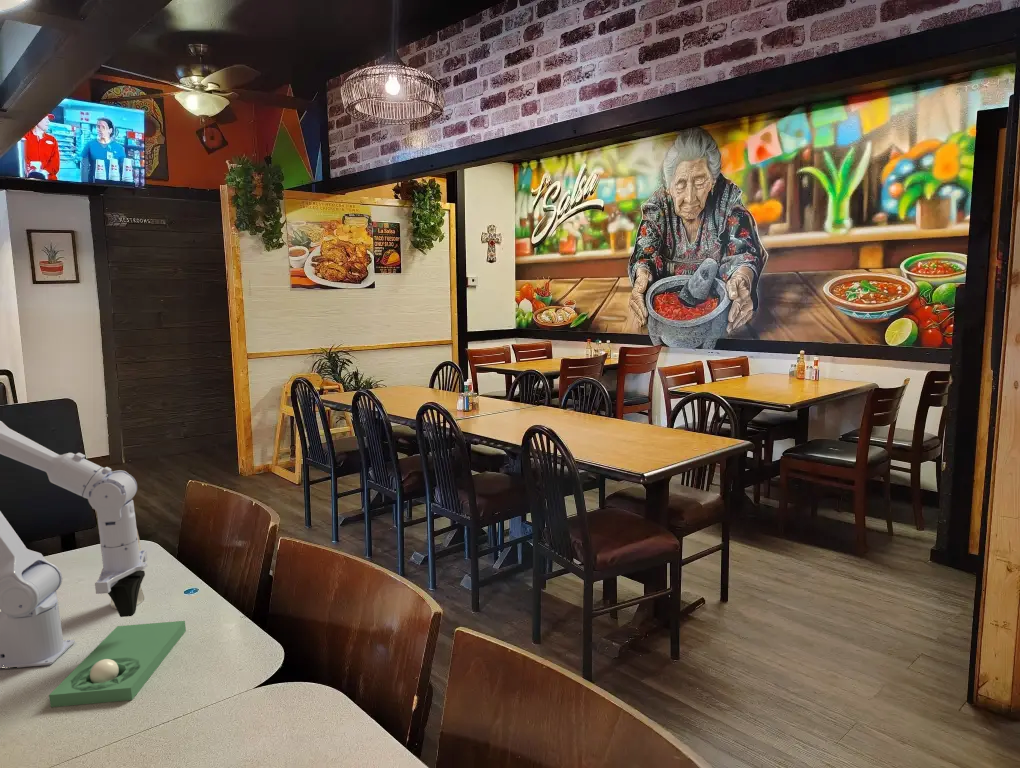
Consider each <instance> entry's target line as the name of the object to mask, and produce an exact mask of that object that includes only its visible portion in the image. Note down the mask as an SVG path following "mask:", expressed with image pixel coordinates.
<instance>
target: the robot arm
mask: <svg viewBox="0 0 1020 768" xmlns="http://www.w3.org/2000/svg"><path fill="white" fill-rule="evenodd" d="M0 455H2V456H4V457H7V458H10V459H12V460H14V461H17V462H20V463H22V464H25V465H28V466H30V467H32V468H34V469H38V470H40V471H42V472H44V473H46V475H47V477H48V480H49V482H50V483H51V484H54V485H56V486H58V487H60V488H62V489H65V490H67V491H69V492H71V493H73V494H76V495H77V496H80V497H82V498H84V499H87V502H88V504H89V505H90V506H91V508H92V509H93V510H94V511H96V515H97V526H98V534H99V541H100V542H99V543H100V551H101V552H100V554H101V560H102V569H101V572H100V574H99V577H98V579H97V580H96V581H95V582H94V587H95V594H98V595H99V594H108V596H109V597H110V600H111V599H112V600H113V602H114V604H115V606H116V608H117V609H116V610H117V613H118V615H119V617H120V618H123V617H126V618H127V617H128V618H129V617H133V616H134V615H135V614H136V610H137V606H138V605H137V599H138V593H139V589H140V585H141V586H142V583H143V580H144V578H145V576H146V573H145V569H146V568H147V567H148V562H147V561H148V552H147V550H146V549H145V550H141V551H139V545H138V536H137V531H138V528H137V521H136V512H135V504H134V500H133V499H134V497H135V495H136V494H137V491H138V483H137V481H136V479H135V477H134V476H132V474H129V472H127V471H125V470H121V469H119V470H114V471H113V470H112V468H110V467H108V466H106V467H103V466H102V465H101V466H100V465H99V464H97V463H94V462H93V461H90V460H88V459H86V455H85V454H83V453H81V452H77V453H73V452H68V453H67V452H66V453H63V454H59V453H58V452H57V453H56V452H54V451H52V450H51V449H49V448H47V447H46V446H43V445H41V444H39V443H38V442H36V441H34V440H32V439H30V438H29V437H28V436H27V437H26V436H25V435H23V434H22V433H20V432H19V433H18V432H17V431H15V430H13V429H12V428H10V427H8V426H7V425H6V424H5V422H3V421H1V420H0ZM138 570H139V571H138ZM62 582H63V574H62V571H61V570H60V568H59V567H58V566H57V565H56V564H53V563H51V562H50V561H48V560H47V559H46V558H45V557H44V555H43V554H42V553H41V552H38V551H34V550H31V549H28V548H27V547H26V545H25V544H24V542H23V541H22V540H21V538H20V537H19V535H18V533H16V531H15V530H14V528H13V527H12V525H11V524H10V523H9V521H8V520H7V518H6V517H5V516H4V514H3V513H2V511H1V510H0V668H2V667H5V669H7V668H6V667H9V668H8V669H11V668H10V667H17V668H27V667H29V668H30V667H39V666H50V665H53V663H55V661H56V660H57V659H58V658H60V657H61V656H62V655H63V654H64V653H65V652H66V651H67V650H68V649H69V648H70V647H71V646H73V644H75V643H76V640H75V639H68V640H67V639H64V636H63V630H62V629H63V628H62V622H61V614H60V607H59V600H58V594H57V591H58V590H59V588H61V586H62ZM3 665H4V666H3Z"/></svg>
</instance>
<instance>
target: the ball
mask: <svg viewBox="0 0 1020 768" xmlns="http://www.w3.org/2000/svg"><path fill="white" fill-rule="evenodd" d="M118 672H119V668H118V665H117V663H116V662H115V661H113V660H111V659H103V660H100V661H99V662H97V663H96V664H95V665H94V666H93V667H92V669H91V671H90V679H91V681H92V682H93V684H94V683H103V682H107V681H110V680H113V679H115V678H117V677H118V676H117V675H118Z"/></svg>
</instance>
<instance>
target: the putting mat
mask: <svg viewBox="0 0 1020 768" xmlns="http://www.w3.org/2000/svg"><path fill="white" fill-rule="evenodd" d="M186 632H187V627H186V620H178V621H176V620H175V621H167V622H166V621H164V622H153V623H141V624H140V623H139V624H126V625H117V626H116V627H115V628H114V629H112V631H111V632H110V633H109V634H108V635H107V636H106V637H105V638H104V639H103V640H102V641H101V642H100V643H99V644H98V645H97V646H96V647H95V648H94V649H93V651H91V652H90V653H89V654H88V655H87V656H86V657H85V658H84V659H83V661H81V662H80V663H79V664H78V665H77V666H76V667H75V668H74V669H73V671H71V672H70V673H69V675H67V676H65V678H64V679H63V680H62V682H60V683H59V685H57V686H56V687H55V688H54V689H53V691H52V692H50V693H49V695H48V698H49V703H50V704H49V705H50V708H59V707H67V706H79V705H90V704H104V703H112V702H113V703H114V702H123V701H133V700H134V699H135V697H136V696H137V694H138V693H139V692H140V691H141V690H142V688H143V687H144V685H146V683H147V681H148V680H149V679H150V678H151V677H152V675H153V674H154V672H155V671H156V670H157V669H158V668H159V666H160V665H161V664H162V663H163V661H164V660H165V659H166V657H167V656H168V654H169V653H170V652H171V651H172V650H173V648H174V647H175V646H176V644H178V643H179V640H180V639H181V638H182V636H183V635H184V634H185V633H186ZM177 642H178V643H177ZM103 659H111V660H113V661H115V662H116V663H117V665H118V668H119V672H118V675H117V677H116V678H115V679H113V680H110V681H107V682H103V683H93V682H92V681H91V679H90V671H91V669H92V667H93V666H94V665H95V664H96V663H97V662H99V661H100V660H103Z"/></svg>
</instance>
